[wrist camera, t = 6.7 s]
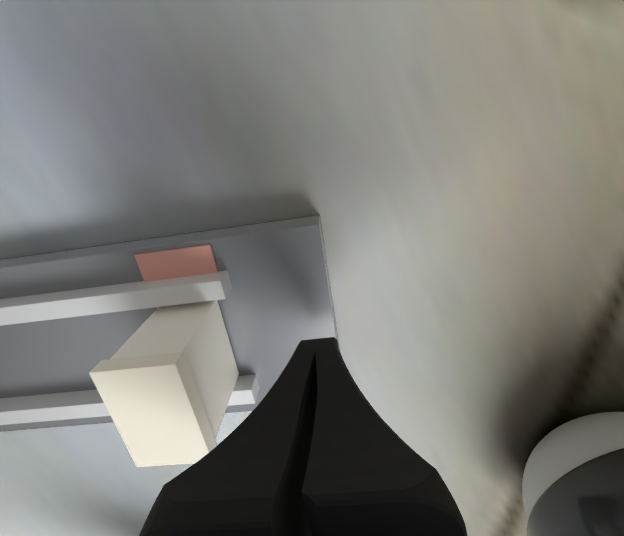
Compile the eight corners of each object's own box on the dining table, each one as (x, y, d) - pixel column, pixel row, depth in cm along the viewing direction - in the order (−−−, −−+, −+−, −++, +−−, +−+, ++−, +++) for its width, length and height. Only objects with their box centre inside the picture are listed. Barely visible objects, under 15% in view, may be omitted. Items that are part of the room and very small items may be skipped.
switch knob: (242, 375, 16) (212, 461, 12) (185, 380, 16) (136, 467, 12) (219, 295, 14) (175, 364, 10) (156, 303, 14) (88, 372, 10)
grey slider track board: (344, 381, 18) (346, 419, 15) (-56, 417, 20) (-106, 454, 18) (319, 215, 14) (318, 232, 12) (-159, 281, 17) (-237, 307, 14)
